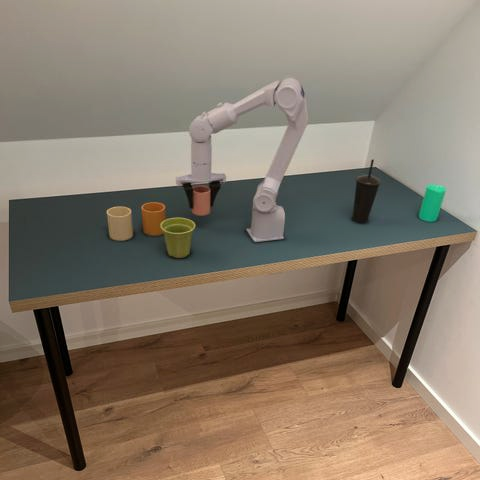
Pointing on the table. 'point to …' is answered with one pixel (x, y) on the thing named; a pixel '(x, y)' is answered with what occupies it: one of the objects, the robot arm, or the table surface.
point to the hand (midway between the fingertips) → (201, 206)
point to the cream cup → (120, 223)
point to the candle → (432, 202)
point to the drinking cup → (364, 196)
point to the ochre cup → (153, 218)
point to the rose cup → (201, 200)
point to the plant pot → (178, 236)
